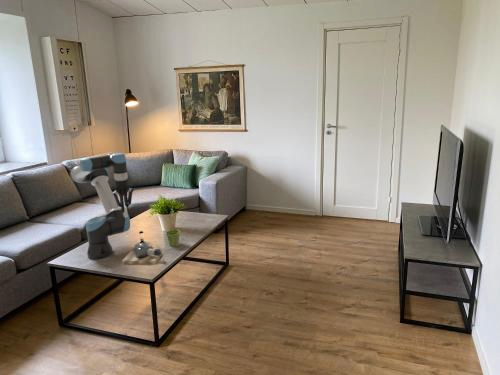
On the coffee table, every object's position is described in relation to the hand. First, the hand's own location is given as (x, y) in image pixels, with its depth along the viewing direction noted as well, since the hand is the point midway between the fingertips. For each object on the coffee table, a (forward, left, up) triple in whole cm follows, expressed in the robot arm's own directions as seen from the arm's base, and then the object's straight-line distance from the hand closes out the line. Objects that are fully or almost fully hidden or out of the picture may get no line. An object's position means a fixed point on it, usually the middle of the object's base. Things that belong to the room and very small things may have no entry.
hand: (125, 216), depth 229 cm
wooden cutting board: (+9, -5, -26) cm, 28 cm away
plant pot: (+23, +16, -26) cm, 38 cm away
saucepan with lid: (+13, -5, -23) cm, 27 cm away
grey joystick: (+4, +10, -26) cm, 28 cm away
